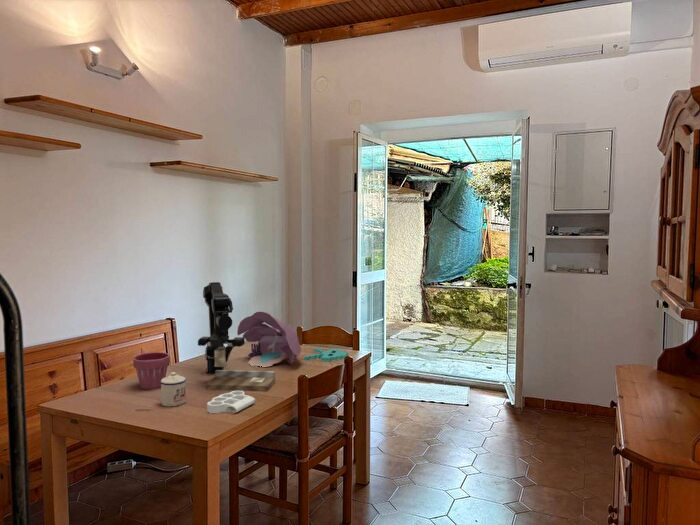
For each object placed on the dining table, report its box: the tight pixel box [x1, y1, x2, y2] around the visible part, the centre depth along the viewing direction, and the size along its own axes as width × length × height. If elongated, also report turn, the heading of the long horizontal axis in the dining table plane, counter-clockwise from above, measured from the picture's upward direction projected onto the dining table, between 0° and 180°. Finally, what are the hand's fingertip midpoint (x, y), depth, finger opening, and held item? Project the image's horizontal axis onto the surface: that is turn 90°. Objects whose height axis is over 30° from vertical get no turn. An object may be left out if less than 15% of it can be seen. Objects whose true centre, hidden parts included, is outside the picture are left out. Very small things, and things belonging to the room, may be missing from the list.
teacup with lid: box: [160, 371, 187, 408], centre depth 188 cm, size 12×9×12 cm
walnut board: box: [205, 369, 276, 392], centre depth 209 cm, size 26×13×4 cm, turn 86°
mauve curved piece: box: [236, 311, 302, 368], centre depth 246 cm, size 35×24×28 cm
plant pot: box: [132, 351, 171, 390], centre depth 207 cm, size 14×14×13 cm
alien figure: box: [303, 347, 349, 362], centre depth 259 cm, size 20×2×20 cm
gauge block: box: [215, 346, 229, 368], centre depth 210 cm, size 4×6×7 cm, turn 176°
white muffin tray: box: [206, 390, 256, 414], centre depth 184 cm, size 3×18×15 cm
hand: (221, 361), depth 211 cm, fingers closed on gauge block, 4 cm apart
